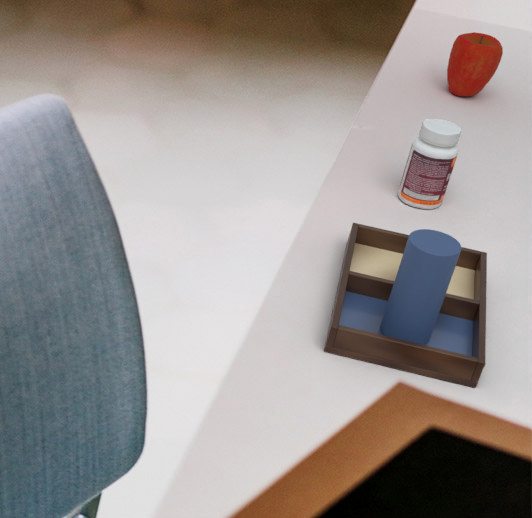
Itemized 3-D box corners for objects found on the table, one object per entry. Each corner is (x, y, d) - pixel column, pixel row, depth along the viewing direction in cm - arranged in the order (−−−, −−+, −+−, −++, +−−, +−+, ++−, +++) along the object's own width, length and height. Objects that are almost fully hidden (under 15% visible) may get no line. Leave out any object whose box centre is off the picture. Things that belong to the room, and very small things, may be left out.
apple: (483, 108, 150) (503, 49, 145) (435, 95, 151) (453, 37, 147) (490, 91, 154) (510, 34, 150) (443, 79, 156) (461, 22, 151)
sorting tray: (478, 275, 116) (487, 252, 114) (475, 388, 100) (485, 363, 99) (346, 245, 118) (353, 222, 116) (323, 351, 102) (331, 326, 101)
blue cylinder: (431, 325, 106) (462, 236, 100) (428, 351, 103) (461, 260, 97) (382, 313, 107) (410, 224, 101) (378, 338, 103) (407, 248, 98)
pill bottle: (447, 211, 126) (472, 137, 121) (404, 209, 125) (427, 134, 120) (433, 190, 130) (456, 117, 124) (391, 187, 129) (413, 114, 124)
